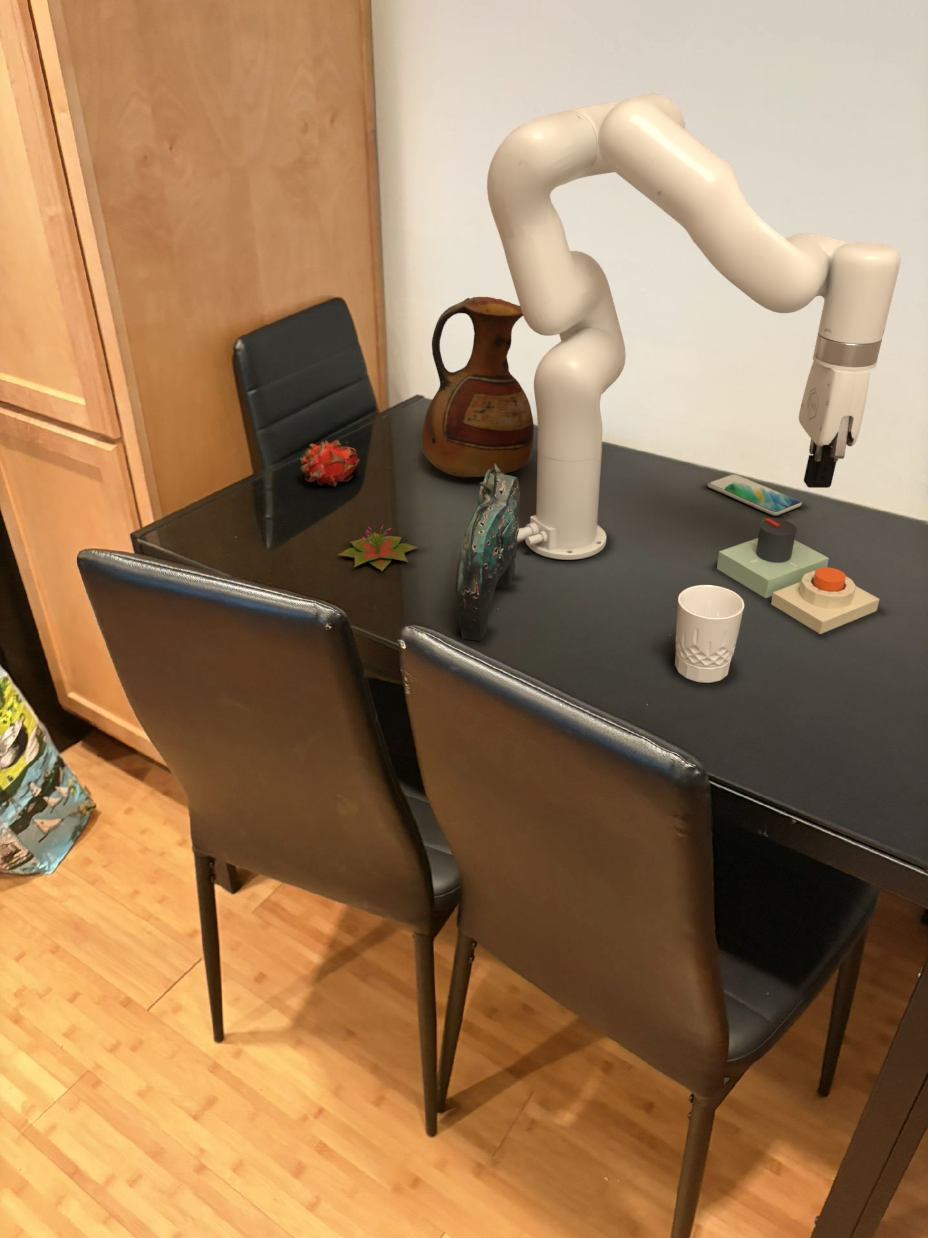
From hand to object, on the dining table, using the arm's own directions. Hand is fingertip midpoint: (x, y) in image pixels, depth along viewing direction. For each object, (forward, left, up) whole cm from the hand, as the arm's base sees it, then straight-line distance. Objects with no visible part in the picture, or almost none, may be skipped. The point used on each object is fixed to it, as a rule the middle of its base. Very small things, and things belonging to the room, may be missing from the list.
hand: (816, 484), depth 130 cm
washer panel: (+1, +6, -17) cm, 18 cm away
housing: (0, -5, -17) cm, 17 cm away
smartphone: (+17, +26, -17) cm, 35 cm away
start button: (0, -5, -13) cm, 14 cm away
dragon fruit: (-41, +71, -17) cm, 84 cm away
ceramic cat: (-39, +20, -17) cm, 47 cm away
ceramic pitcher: (-16, +62, -17) cm, 66 cm away
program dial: (+1, +6, -14) cm, 15 cm away
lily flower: (-46, +42, -17) cm, 65 cm away
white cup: (-24, -7, -17) cm, 30 cm away
